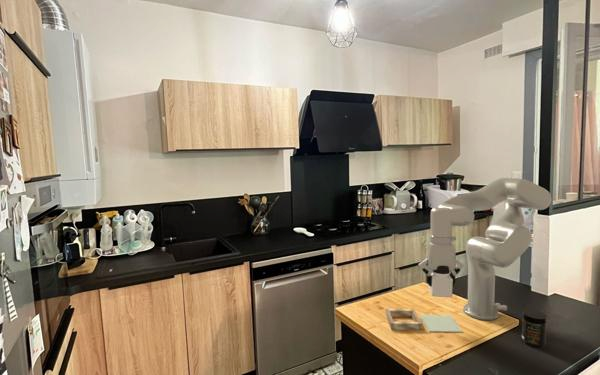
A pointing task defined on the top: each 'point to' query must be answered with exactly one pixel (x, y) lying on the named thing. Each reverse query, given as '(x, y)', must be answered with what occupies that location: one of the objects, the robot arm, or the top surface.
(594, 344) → the top surface
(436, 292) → the medicine bottle
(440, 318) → the mat
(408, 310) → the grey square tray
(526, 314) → the supplement container
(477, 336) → the top surface
